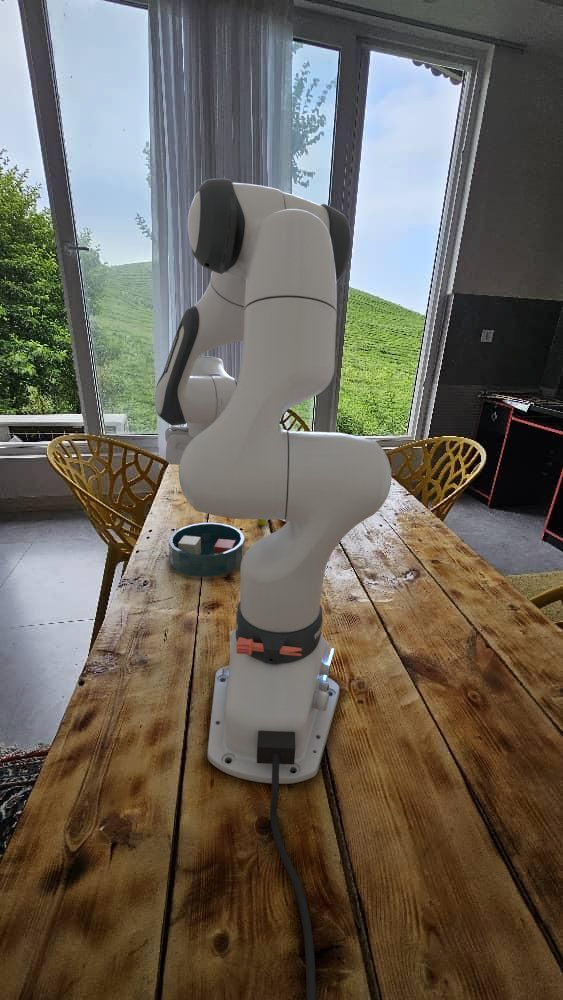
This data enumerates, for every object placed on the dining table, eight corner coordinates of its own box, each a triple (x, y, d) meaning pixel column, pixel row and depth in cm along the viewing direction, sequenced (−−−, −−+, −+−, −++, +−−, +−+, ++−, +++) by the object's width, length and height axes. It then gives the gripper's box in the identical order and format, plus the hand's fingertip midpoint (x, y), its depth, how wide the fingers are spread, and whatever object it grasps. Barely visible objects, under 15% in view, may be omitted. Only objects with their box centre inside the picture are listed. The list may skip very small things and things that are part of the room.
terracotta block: (231, 564, 99) (231, 548, 97) (214, 562, 99) (213, 546, 98) (235, 555, 103) (235, 540, 101) (218, 554, 103) (218, 538, 101)
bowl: (234, 582, 93) (234, 559, 91) (158, 574, 95) (157, 552, 93) (250, 546, 108) (250, 526, 106) (184, 540, 110) (183, 519, 108)
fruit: (263, 532, 116) (264, 514, 114) (255, 531, 116) (255, 513, 114) (269, 516, 125) (269, 500, 124) (262, 515, 126) (262, 499, 124)
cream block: (196, 560, 100) (195, 544, 98) (178, 559, 100) (177, 543, 99) (201, 552, 103) (200, 536, 102) (184, 550, 104) (184, 535, 102)
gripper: (159, 427, 103) (163, 484, 108) (246, 433, 101) (245, 490, 106) (169, 422, 109) (172, 476, 114) (251, 428, 107) (250, 482, 112)
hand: (208, 483), depth 110 cm, fingers closed
